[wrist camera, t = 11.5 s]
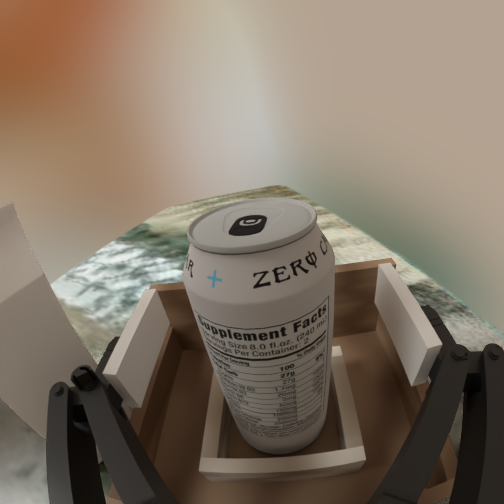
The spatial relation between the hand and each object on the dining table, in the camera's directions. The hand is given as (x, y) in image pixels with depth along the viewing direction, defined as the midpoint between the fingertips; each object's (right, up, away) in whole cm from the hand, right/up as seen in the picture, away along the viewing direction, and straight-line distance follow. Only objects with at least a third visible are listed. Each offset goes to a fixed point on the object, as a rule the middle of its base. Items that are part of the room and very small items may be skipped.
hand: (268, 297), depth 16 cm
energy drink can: (+1, -10, +1) cm, 10 cm away
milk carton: (-14, -13, +2) cm, 19 cm away
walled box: (+1, -10, +2) cm, 11 cm away
